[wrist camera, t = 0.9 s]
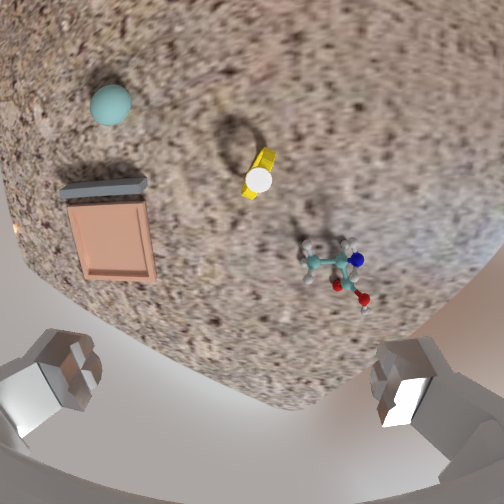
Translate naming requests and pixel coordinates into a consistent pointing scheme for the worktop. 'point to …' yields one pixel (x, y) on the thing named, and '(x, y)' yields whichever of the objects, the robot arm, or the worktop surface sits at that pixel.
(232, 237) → the worktop surface
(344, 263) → the molecular model
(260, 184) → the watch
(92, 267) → the dish
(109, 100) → the ball
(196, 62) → the worktop surface
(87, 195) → the block
